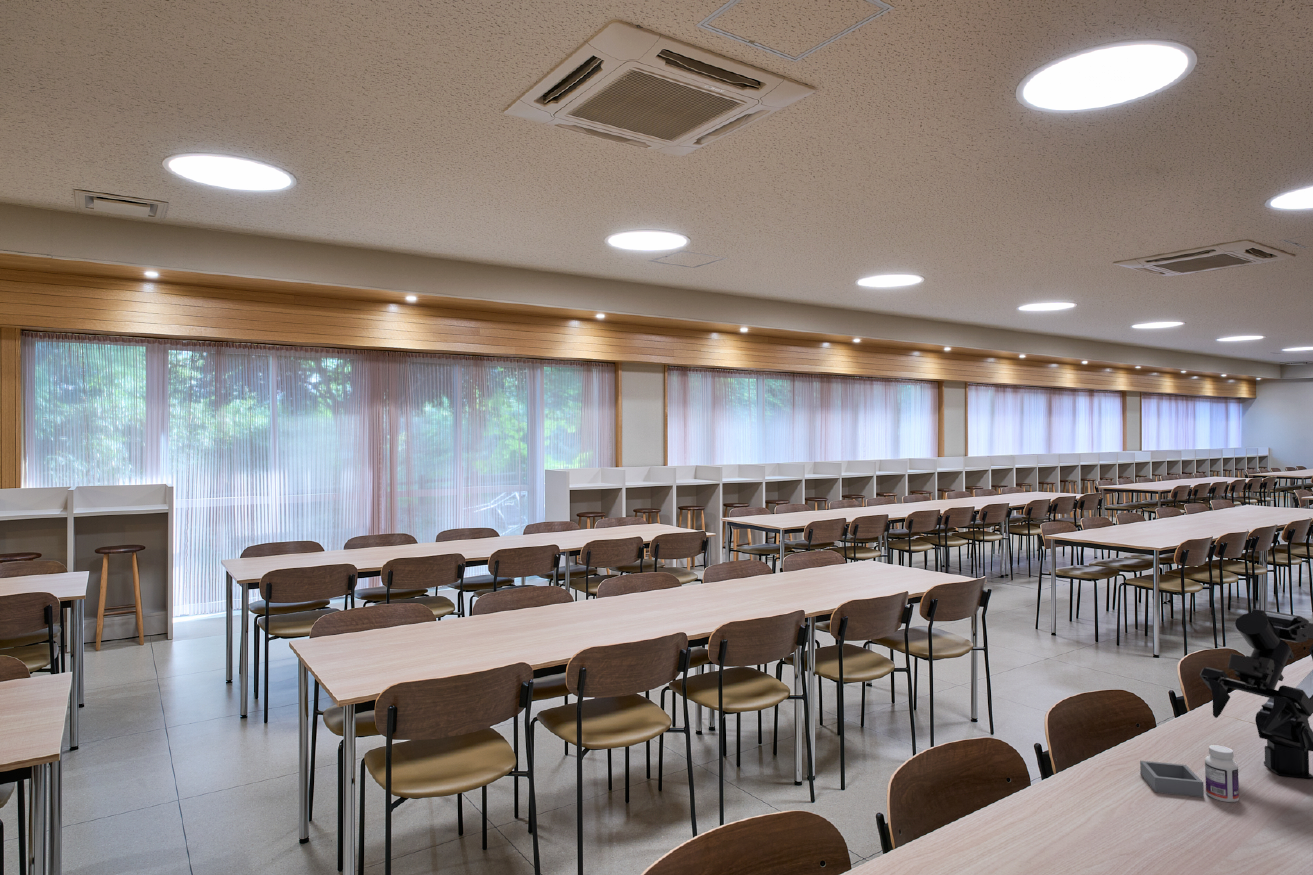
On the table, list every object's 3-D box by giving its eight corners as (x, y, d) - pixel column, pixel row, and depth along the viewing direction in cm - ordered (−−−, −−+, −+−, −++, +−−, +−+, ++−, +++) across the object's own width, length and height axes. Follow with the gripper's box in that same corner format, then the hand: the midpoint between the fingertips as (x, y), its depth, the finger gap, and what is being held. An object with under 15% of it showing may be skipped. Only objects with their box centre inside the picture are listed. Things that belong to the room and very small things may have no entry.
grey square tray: (1186, 778, 158) (1185, 764, 158) (1203, 797, 150) (1203, 782, 150) (1140, 774, 160) (1140, 760, 160) (1155, 792, 152) (1154, 777, 152)
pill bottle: (1227, 790, 152) (1226, 743, 152) (1245, 803, 147) (1244, 754, 147) (1199, 789, 153) (1198, 742, 153) (1216, 802, 147) (1215, 753, 148)
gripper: (1202, 630, 164) (1174, 688, 160) (1303, 650, 147) (1275, 716, 143) (1224, 659, 168) (1197, 717, 163) (1326, 683, 151) (1299, 748, 146)
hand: (1239, 723), depth 154 cm, fingers open, 9 cm apart
